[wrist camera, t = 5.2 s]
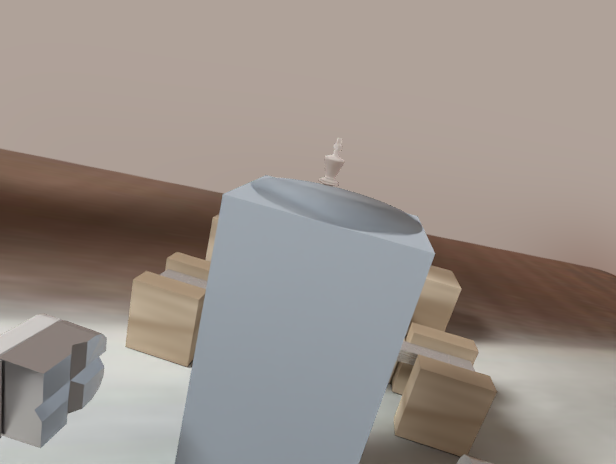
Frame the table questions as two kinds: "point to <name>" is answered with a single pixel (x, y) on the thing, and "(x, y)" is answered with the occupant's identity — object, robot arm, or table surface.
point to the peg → (300, 324)
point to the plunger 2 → (412, 350)
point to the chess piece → (332, 165)
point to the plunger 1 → (185, 278)
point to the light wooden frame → (405, 378)
